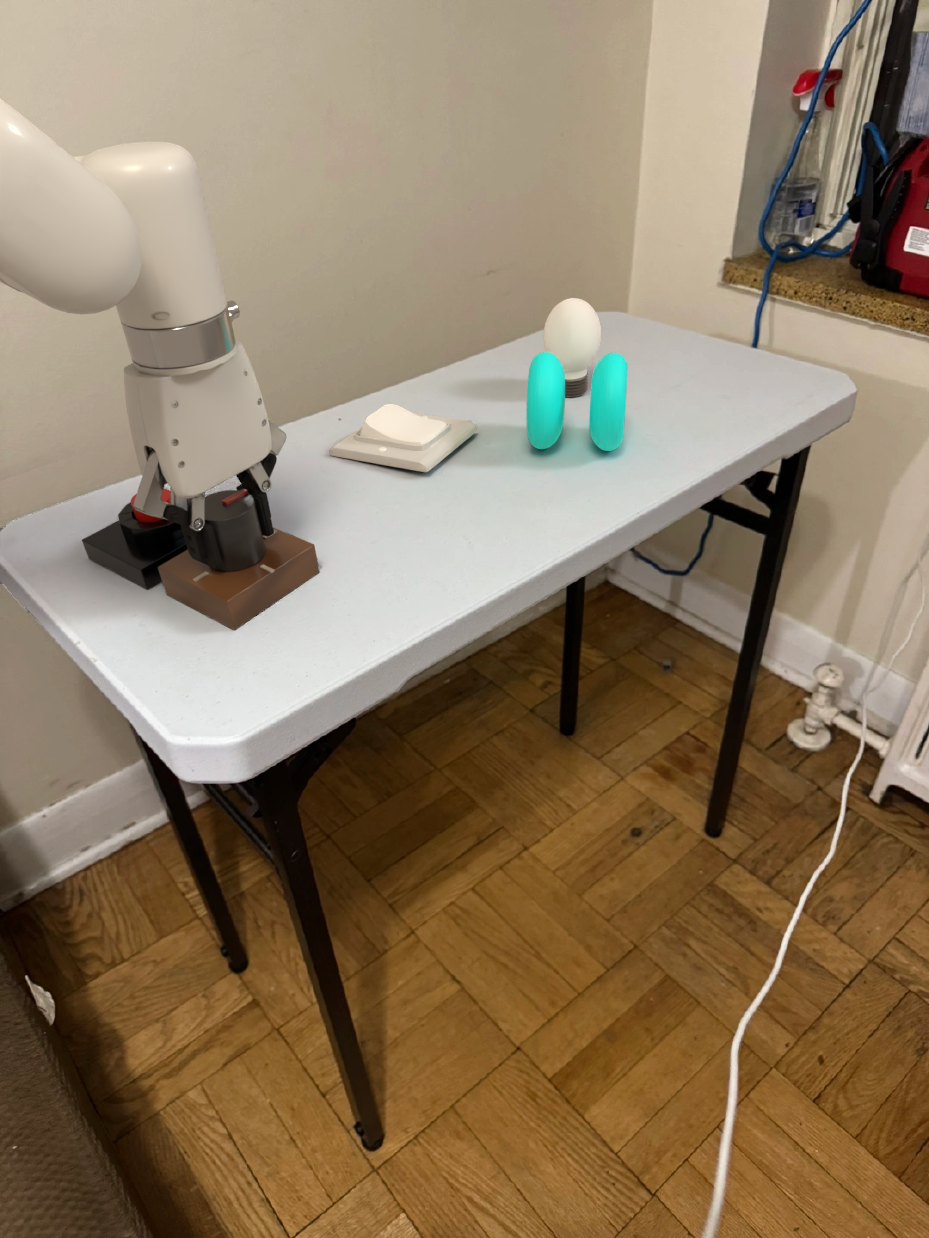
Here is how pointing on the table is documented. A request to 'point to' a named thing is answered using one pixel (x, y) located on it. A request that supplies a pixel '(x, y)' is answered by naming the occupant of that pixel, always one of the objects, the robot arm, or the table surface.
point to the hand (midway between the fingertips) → (233, 544)
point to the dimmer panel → (241, 580)
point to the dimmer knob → (235, 528)
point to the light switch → (404, 439)
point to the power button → (147, 518)
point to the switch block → (136, 547)
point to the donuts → (550, 401)
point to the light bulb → (573, 341)
